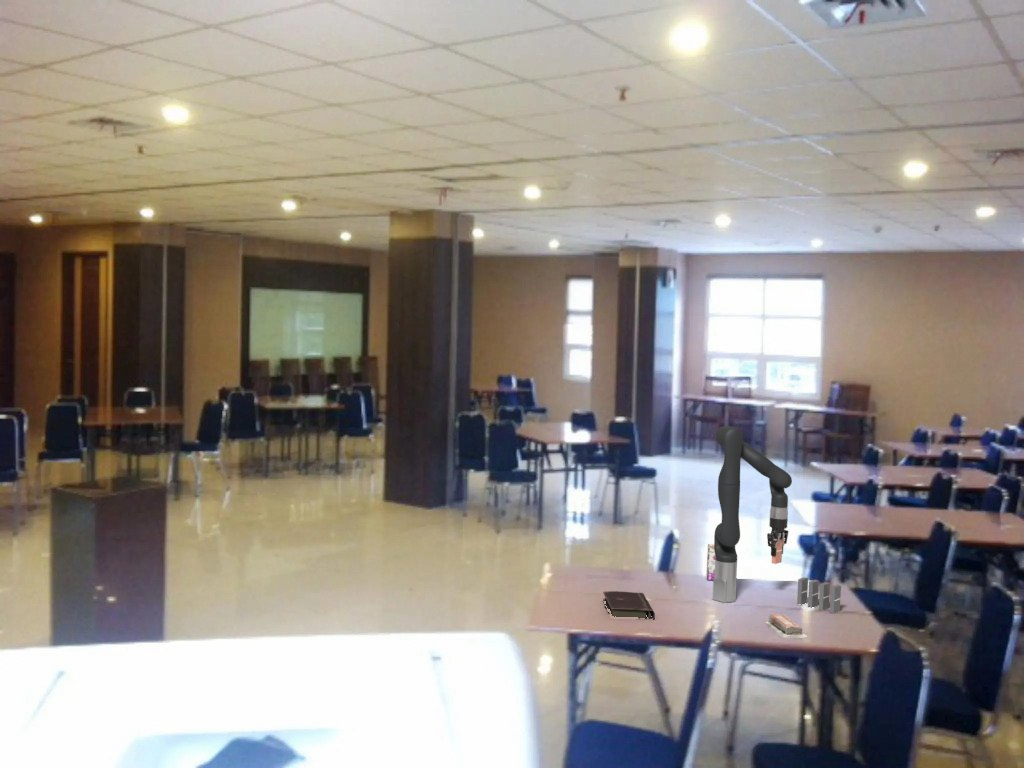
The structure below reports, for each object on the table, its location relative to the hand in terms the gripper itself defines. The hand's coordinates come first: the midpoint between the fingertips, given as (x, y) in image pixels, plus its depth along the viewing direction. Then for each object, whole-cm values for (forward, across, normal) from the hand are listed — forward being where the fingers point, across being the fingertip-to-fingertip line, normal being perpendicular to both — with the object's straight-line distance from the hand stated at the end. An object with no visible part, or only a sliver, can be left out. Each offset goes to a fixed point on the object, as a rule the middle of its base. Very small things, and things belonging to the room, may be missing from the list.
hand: (776, 554), depth 415 cm
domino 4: (+19, 0, +23) cm, 30 cm away
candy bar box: (+19, -4, -32) cm, 37 cm away
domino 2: (+19, 0, +13) cm, 23 cm away
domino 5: (+19, 0, +28) cm, 34 cm away
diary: (+20, +66, -29) cm, 75 cm away
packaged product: (+20, +38, +28) cm, 51 cm away
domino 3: (+19, 0, +18) cm, 26 cm away
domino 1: (+4, 0, 0) cm, 4 cm away
